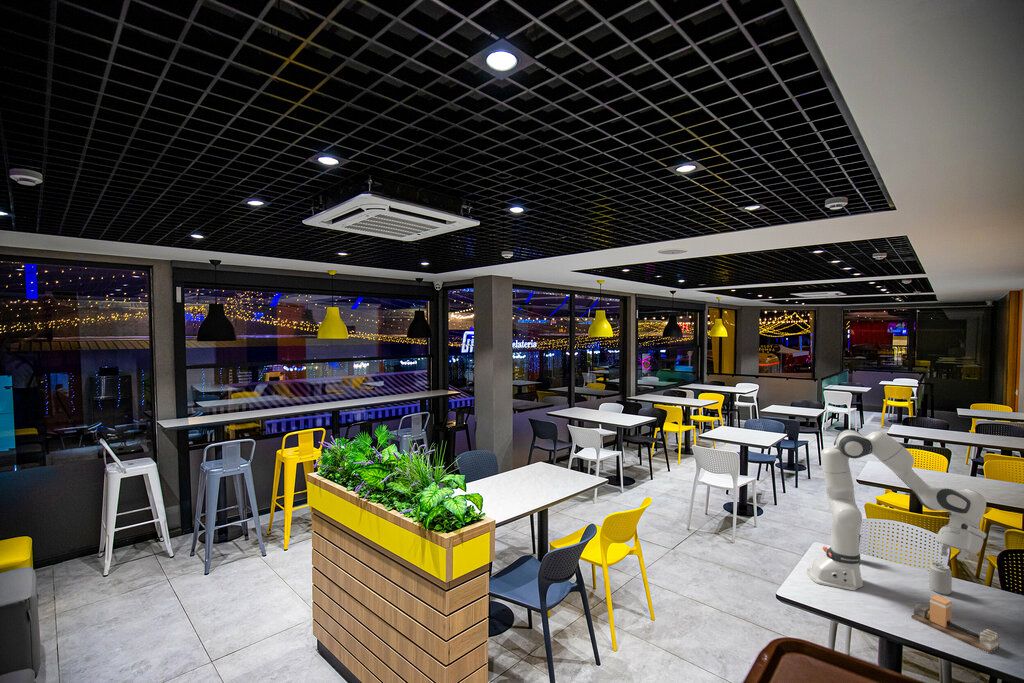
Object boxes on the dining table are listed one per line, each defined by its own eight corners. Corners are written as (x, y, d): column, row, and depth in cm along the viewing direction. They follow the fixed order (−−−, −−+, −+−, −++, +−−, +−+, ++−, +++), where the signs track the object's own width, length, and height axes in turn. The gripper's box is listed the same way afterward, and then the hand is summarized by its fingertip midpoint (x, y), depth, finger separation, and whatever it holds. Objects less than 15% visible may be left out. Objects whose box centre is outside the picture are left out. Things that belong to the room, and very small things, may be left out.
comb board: (911, 617, 195) (911, 604, 195) (921, 612, 198) (921, 599, 198) (988, 653, 173) (989, 638, 173) (999, 647, 176) (999, 632, 176)
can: (942, 587, 218) (942, 561, 218) (956, 596, 211) (956, 569, 210) (925, 586, 219) (925, 560, 218) (937, 595, 211) (938, 568, 211)
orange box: (929, 620, 191) (929, 597, 190) (935, 617, 193) (935, 594, 192) (945, 627, 186) (945, 603, 186) (951, 624, 188) (951, 600, 188)
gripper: (937, 520, 212) (926, 548, 210) (972, 527, 192) (961, 559, 190) (952, 527, 210) (942, 556, 208) (990, 535, 190) (978, 567, 189)
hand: (951, 557), depth 199 cm, fingers open, 8 cm apart
